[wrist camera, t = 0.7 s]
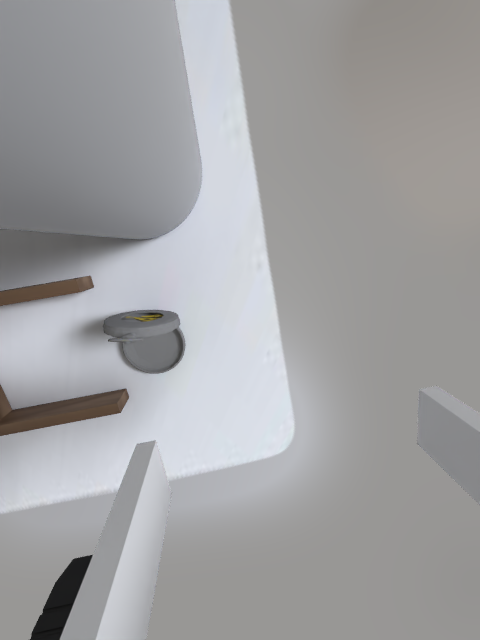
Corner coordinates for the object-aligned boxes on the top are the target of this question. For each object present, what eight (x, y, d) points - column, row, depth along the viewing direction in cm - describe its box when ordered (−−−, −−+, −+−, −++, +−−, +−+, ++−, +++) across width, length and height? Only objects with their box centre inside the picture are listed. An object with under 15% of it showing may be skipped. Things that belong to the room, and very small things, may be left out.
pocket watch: (150, 379, 31) (122, 439, 22) (101, 322, 29) (44, 361, 19) (208, 341, 31) (205, 385, 21) (162, 280, 28) (135, 298, 19)
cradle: (-52, 300, 27) (-84, 306, 24) (90, 275, 28) (75, 279, 25) (5, 421, 31) (-16, 438, 28) (129, 397, 32) (120, 412, 29)
